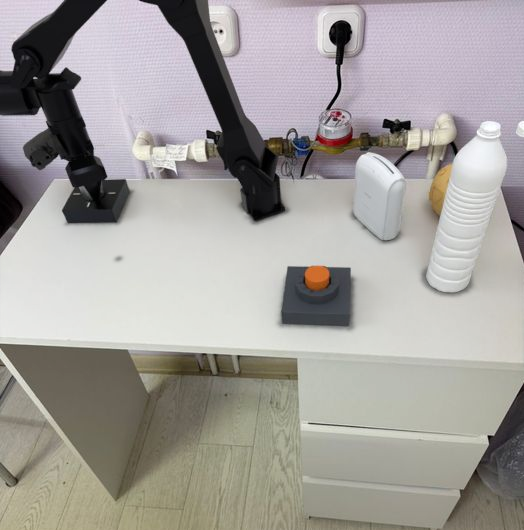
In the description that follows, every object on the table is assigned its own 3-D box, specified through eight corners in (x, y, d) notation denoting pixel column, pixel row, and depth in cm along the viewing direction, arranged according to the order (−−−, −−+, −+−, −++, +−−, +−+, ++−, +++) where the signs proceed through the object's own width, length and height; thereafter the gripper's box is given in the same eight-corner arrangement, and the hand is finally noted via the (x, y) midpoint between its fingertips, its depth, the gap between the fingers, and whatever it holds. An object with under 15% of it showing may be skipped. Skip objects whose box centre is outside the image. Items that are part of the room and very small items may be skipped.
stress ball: (487, 205, 89) (504, 153, 81) (477, 238, 83) (494, 186, 76) (431, 195, 92) (442, 144, 84) (418, 226, 87) (428, 175, 79)
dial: (87, 187, 98) (78, 168, 94) (108, 187, 97) (100, 167, 94) (80, 201, 95) (71, 181, 92) (101, 200, 95) (94, 180, 91)
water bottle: (425, 291, 77) (463, 138, 57) (425, 263, 81) (460, 110, 61) (485, 296, 75) (545, 139, 56) (482, 267, 79) (537, 111, 59)
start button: (329, 274, 75) (329, 265, 74) (328, 291, 73) (328, 282, 72) (305, 273, 76) (305, 265, 74) (304, 290, 73) (304, 281, 72)
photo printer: (349, 213, 90) (352, 150, 81) (368, 205, 91) (375, 142, 82) (381, 244, 84) (389, 180, 75) (402, 236, 85) (413, 171, 76)
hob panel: (130, 191, 101) (125, 178, 99) (116, 222, 95) (111, 208, 92) (83, 192, 102) (78, 179, 100) (67, 223, 96) (61, 209, 94)
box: (349, 279, 80) (351, 258, 76) (348, 326, 74) (350, 305, 70) (288, 278, 81) (287, 257, 78) (282, 323, 75) (280, 303, 72)
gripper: (8, 104, 88) (45, 182, 100) (21, 152, 77) (61, 233, 89) (70, 88, 90) (98, 166, 102) (92, 132, 79) (121, 213, 91)
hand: (93, 193), depth 96 cm, fingers closed on dial, 4 cm apart
